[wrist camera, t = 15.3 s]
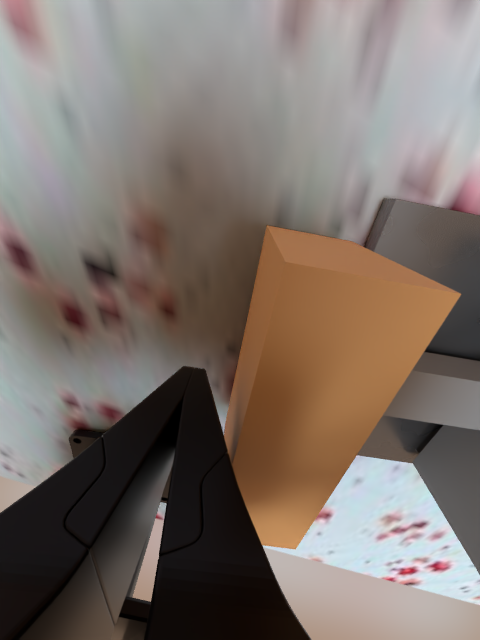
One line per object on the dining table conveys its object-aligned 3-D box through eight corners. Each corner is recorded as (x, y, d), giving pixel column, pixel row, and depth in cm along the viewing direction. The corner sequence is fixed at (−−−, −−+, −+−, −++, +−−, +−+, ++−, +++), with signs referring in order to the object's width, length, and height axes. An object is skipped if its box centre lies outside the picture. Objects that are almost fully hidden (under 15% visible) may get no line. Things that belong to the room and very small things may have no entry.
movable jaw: (445, 467, 14) (532, 590, 10) (222, 434, 13) (209, 550, 9) (641, 264, 8) (1065, 341, 4) (273, 192, 8) (303, 192, 3)
